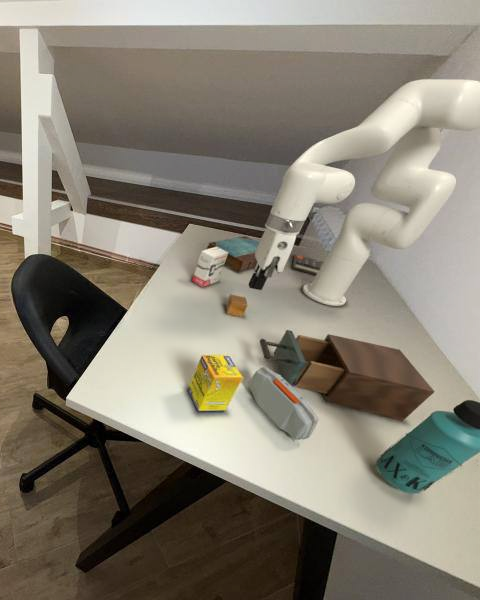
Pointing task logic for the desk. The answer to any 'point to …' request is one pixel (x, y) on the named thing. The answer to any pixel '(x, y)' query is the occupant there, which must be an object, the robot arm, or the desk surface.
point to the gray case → (283, 404)
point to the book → (238, 252)
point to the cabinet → (376, 380)
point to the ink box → (209, 266)
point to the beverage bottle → (433, 448)
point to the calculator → (306, 264)
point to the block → (236, 305)
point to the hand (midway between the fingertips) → (254, 287)
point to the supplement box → (214, 383)
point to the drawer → (306, 362)
